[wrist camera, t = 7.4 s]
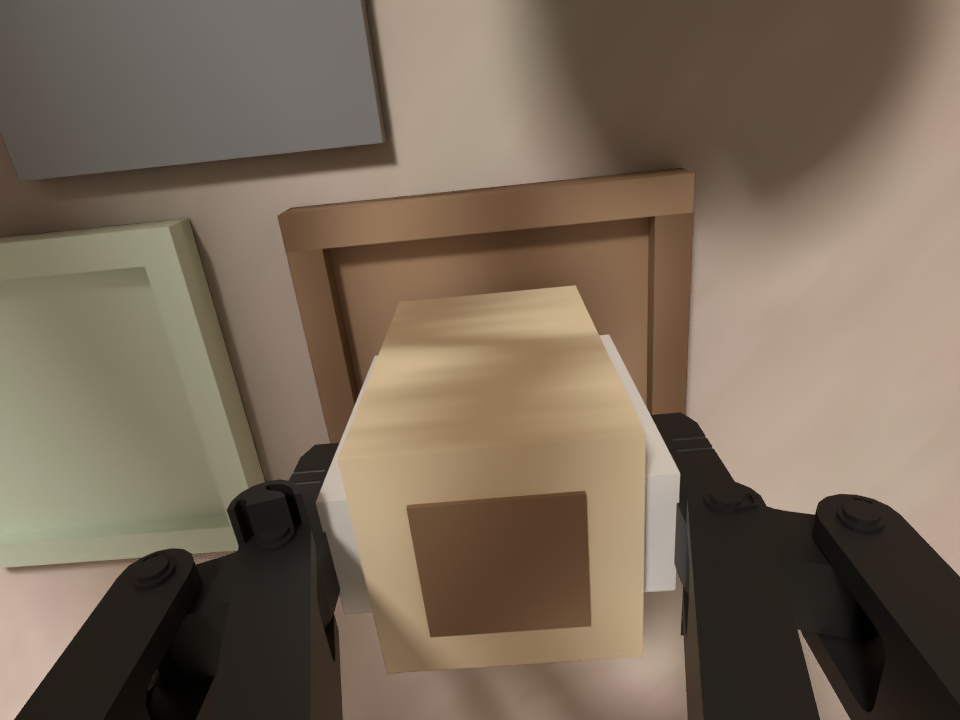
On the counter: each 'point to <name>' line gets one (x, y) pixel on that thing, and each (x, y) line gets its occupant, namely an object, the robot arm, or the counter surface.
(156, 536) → the tray sage
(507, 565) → the letter block
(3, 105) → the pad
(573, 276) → the tray walnut
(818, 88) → the counter surface
